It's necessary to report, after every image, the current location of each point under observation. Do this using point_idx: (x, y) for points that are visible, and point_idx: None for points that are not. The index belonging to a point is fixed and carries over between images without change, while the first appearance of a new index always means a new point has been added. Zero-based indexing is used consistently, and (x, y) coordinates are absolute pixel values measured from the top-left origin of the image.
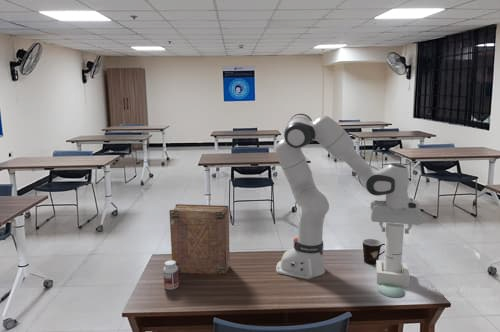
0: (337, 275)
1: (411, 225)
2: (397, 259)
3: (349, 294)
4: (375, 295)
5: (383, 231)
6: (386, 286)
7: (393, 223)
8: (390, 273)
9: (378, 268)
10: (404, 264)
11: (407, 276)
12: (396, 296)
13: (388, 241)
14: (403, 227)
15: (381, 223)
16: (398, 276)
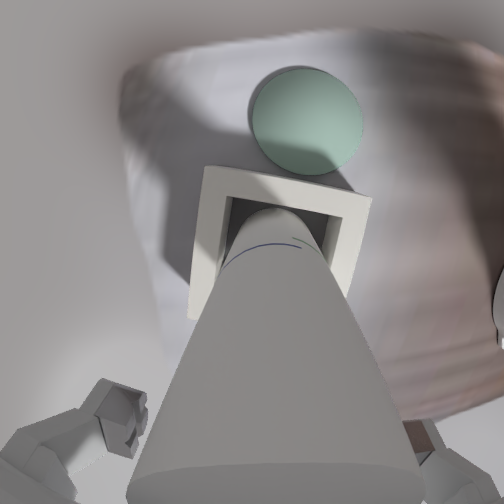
0: (474, 255)
1: (13, 444)
2: (259, 236)
3: (463, 107)
4: (379, 89)
5: (416, 421)
6: (323, 151)
7: None
8: (304, 189)
9: (352, 247)
10: (200, 302)
11: (217, 167)
12: (297, 69)
13: (354, 320)
14: (140, 461)
15: (478, 493)
16: (263, 174)
